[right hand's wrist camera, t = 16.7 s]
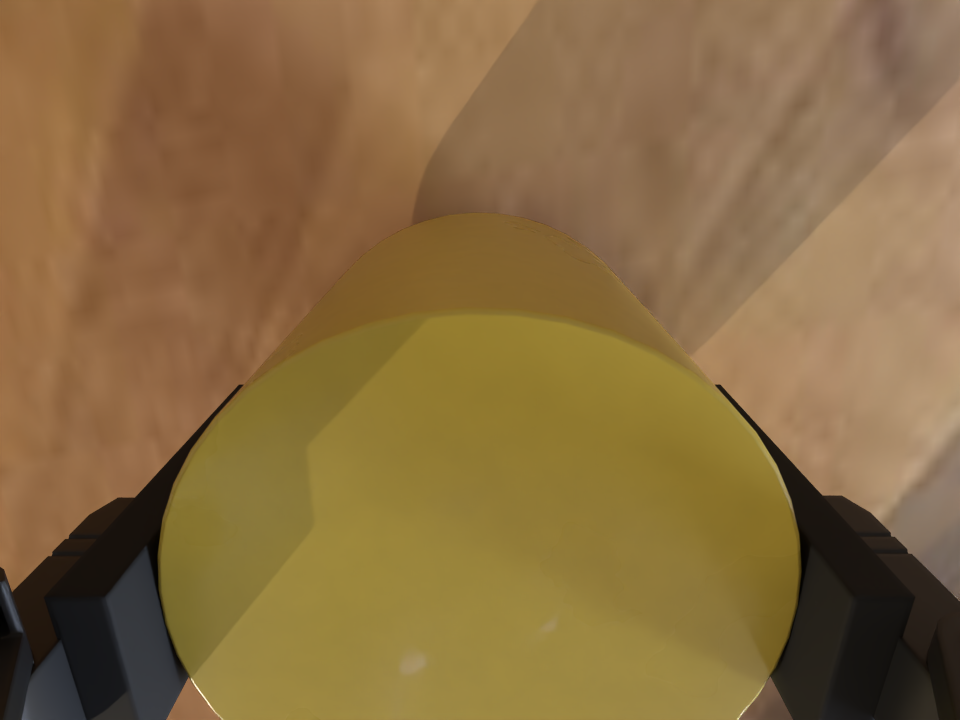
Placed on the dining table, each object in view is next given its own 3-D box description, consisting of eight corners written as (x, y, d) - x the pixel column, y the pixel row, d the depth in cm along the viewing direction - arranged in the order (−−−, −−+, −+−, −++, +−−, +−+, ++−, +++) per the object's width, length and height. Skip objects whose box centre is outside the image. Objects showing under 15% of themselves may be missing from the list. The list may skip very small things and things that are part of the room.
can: (693, 458, 17) (866, 728, 10) (405, 566, 19) (353, 881, 11) (575, 147, 14) (688, 175, 7) (244, 303, 16) (13, 479, 8)
